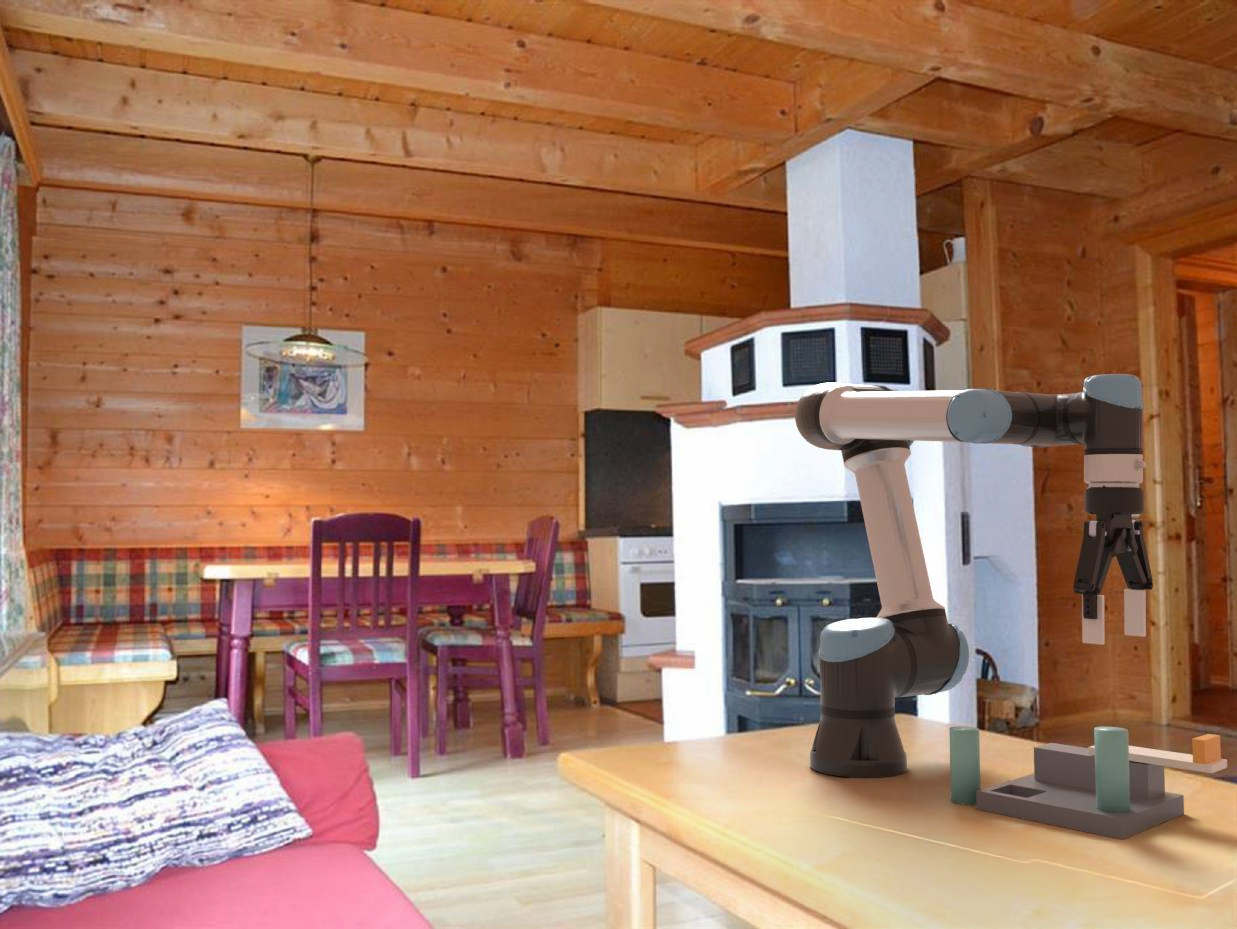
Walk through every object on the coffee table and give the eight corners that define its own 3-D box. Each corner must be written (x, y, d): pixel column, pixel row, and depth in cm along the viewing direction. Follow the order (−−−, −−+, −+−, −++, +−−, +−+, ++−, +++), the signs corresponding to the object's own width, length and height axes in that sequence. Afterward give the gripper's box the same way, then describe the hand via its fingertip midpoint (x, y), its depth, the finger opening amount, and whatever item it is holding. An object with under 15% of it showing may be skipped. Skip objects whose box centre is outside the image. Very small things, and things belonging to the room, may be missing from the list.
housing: (976, 809, 155) (974, 716, 156) (1042, 788, 167) (1040, 702, 168) (1122, 839, 140) (1120, 736, 141) (1184, 813, 152) (1181, 719, 153)
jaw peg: (945, 800, 160) (943, 728, 160) (960, 796, 162) (959, 725, 163) (970, 806, 157) (969, 732, 157) (986, 801, 160) (984, 729, 160)
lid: (1088, 754, 156) (1087, 724, 156) (1105, 749, 159) (1104, 720, 159) (1211, 773, 144) (1210, 741, 144) (1227, 767, 147) (1226, 736, 148)
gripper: (1101, 484, 147) (1103, 649, 146) (1176, 487, 164) (1178, 634, 164) (1046, 484, 153) (1046, 644, 152) (1123, 487, 170) (1125, 630, 169)
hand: (1114, 639), depth 158 cm, fingers open, 13 cm apart
